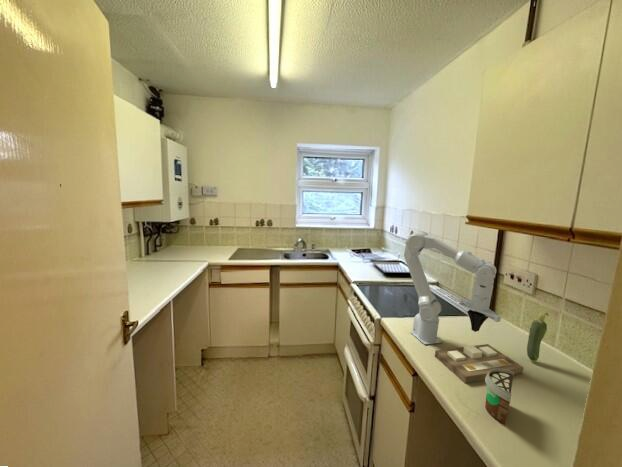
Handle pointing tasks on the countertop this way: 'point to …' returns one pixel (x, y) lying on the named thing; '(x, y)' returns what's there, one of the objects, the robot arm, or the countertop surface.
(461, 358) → the near button
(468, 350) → the middle button
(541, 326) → the vegetable
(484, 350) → the far button
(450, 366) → the button board
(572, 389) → the countertop surface
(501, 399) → the food container
